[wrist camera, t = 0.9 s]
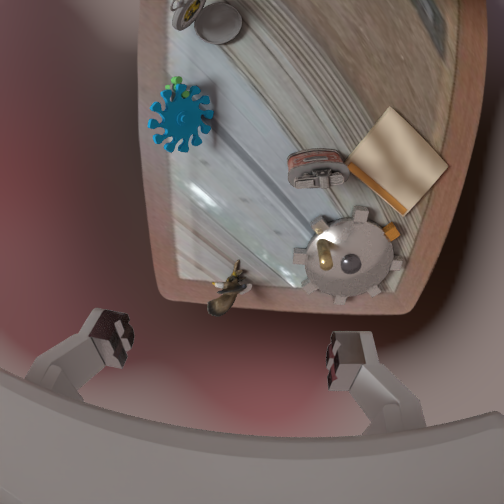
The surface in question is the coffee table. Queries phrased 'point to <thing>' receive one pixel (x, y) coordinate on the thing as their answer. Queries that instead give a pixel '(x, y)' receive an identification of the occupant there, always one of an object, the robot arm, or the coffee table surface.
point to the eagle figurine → (228, 293)
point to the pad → (396, 162)
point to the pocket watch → (208, 20)
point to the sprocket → (348, 256)
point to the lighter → (316, 168)
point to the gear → (180, 116)
